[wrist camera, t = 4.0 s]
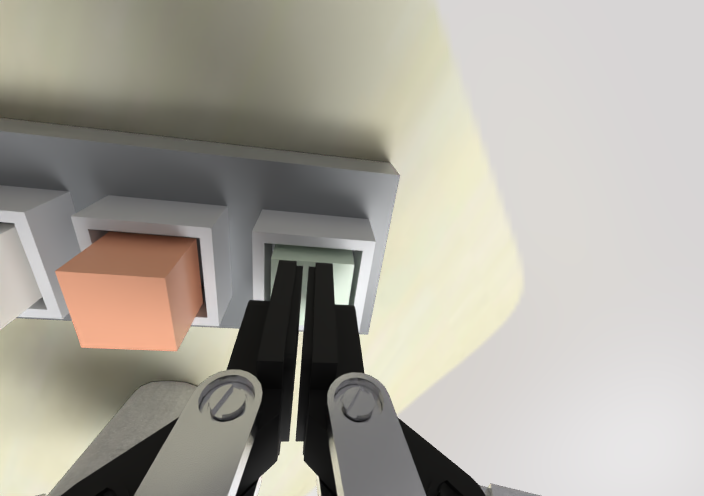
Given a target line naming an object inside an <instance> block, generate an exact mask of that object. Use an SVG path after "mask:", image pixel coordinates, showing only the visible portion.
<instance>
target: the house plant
mask: <svg viewBox="0 0 704 496" xmlns="http://www.w3.org/2000/svg"><path fill="white" fill-rule="evenodd" d="M196 389H197V386H194V385H191V384H189V383H185V382H176V381H159V382H151V383H148V384H146V385H143V386H141V387H140V388H139V389H137V390H136V391H135V392H134V393H133V394H132V395H131V397H130V398H129V399H128V400H127V401H126V403H125V404H124V405H123V406H122V407H121V408H120V410H119V411H118V412H117V413H116V414H115V416H114V417H113V418H112V419H111V420H110V422H109V423H108V424H107V425H106V426H105V427H104V429H103V430H102V431H101V432H100V433H99V435H98V436H97V437H96V438H95V439H94V441H93V442H92V443H91V444H90V445H89V446H88V448H87V449H86V450H85V451H84V452H83V454H82V455H81V456H80V457H79V458H78V460H77V461H76V462H75V463H74V464H73V465H72V467H71V468H70V469H69V470H68V471H67V473H66V474H65V475H64V476H63V477H62V479H61V480H60V481H59V482H58V483H57V484H56V486H55V487H54V488H53V489H52V490H51V492H50V493H49V494H48V495H47V496H60V495H62V494H63V493H65V492H66V491H67V490H68V489H70V488H71V487H72V486H74V485H75V484H76V483H78V482H79V481H81V480H82V479H84V478H85V477H87V476H89V475H90V474H92V473H93V472H95V471H96V470H98V469H99V468H101V467H102V466H104V465H106V464H107V463H109V462H110V461H112V460H113V459H115V458H116V457H118V456H119V455H121V454H123V453H124V452H126V451H127V450H129V449H130V448H132V447H133V446H135V445H136V444H138V443H139V442H141V441H143V440H144V439H146V438H147V437H149V436H150V435H152V434H153V433H155V432H156V431H158V430H160V429H161V428H163V427H164V426H166V425H167V424H169V423H170V422H172V421H173V420H175V419H177V418H178V417H180V415H181V413H182V412H183V410H184V408H185V406H186V405H187V403H188V401H189V399H190V398H191V396H192V394H193V393H194V391H195V390H196Z"/></svg>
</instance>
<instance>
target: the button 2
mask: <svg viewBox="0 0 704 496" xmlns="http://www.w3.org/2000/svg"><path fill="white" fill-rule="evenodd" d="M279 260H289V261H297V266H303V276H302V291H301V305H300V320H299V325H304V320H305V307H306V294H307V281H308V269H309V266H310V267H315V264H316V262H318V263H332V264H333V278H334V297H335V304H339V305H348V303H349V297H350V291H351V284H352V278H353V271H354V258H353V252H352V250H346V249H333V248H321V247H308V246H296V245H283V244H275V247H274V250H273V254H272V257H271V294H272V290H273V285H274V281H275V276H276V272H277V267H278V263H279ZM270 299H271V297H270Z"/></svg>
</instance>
